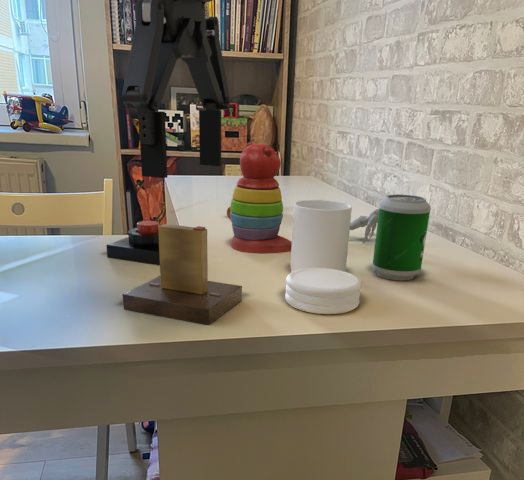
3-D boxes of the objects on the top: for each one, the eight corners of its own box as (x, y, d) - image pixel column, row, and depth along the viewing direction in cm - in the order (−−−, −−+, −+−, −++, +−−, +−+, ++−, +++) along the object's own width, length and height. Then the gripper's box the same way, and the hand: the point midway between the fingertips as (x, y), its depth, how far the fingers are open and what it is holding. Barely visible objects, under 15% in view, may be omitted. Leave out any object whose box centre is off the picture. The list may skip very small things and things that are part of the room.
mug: (334, 261, 95) (340, 196, 90) (350, 282, 84) (358, 210, 79) (283, 260, 94) (287, 195, 89) (294, 282, 83) (298, 209, 79)
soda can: (416, 284, 84) (429, 203, 79) (367, 278, 86) (376, 198, 81) (421, 271, 91) (433, 196, 86) (375, 266, 93) (384, 192, 88)
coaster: (372, 311, 73) (376, 286, 71) (302, 318, 69) (304, 292, 68) (338, 288, 81) (340, 264, 80) (274, 293, 78) (275, 269, 76)
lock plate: (123, 309, 70) (122, 292, 69) (164, 287, 79) (163, 272, 78) (208, 325, 67) (208, 308, 66) (242, 300, 75) (242, 284, 74)
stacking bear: (297, 250, 100) (303, 145, 93) (250, 257, 95) (253, 146, 88) (263, 237, 108) (266, 140, 101) (218, 243, 103) (218, 141, 96)
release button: (133, 234, 92) (132, 223, 91) (145, 230, 95) (144, 219, 94) (152, 236, 91) (151, 226, 90) (163, 232, 94) (163, 222, 93)
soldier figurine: (330, 252, 110) (390, 237, 104) (323, 225, 108) (383, 209, 102) (339, 245, 115) (396, 231, 109) (332, 219, 113) (390, 204, 108)
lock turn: (160, 287, 72) (157, 224, 69) (166, 284, 74) (164, 221, 70) (202, 294, 70) (201, 229, 67) (207, 291, 72) (207, 226, 68)
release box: (107, 257, 92) (105, 233, 90) (140, 244, 100) (139, 222, 99) (160, 265, 88) (159, 241, 87) (190, 251, 97) (189, 228, 95)
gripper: (144, -84, 45) (157, 186, 54) (258, -24, 66) (254, 163, 75) (68, -78, 48) (92, 180, 56) (201, -21, 69) (204, 159, 78)
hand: (185, 170), depth 66 cm, fingers open, 13 cm apart
